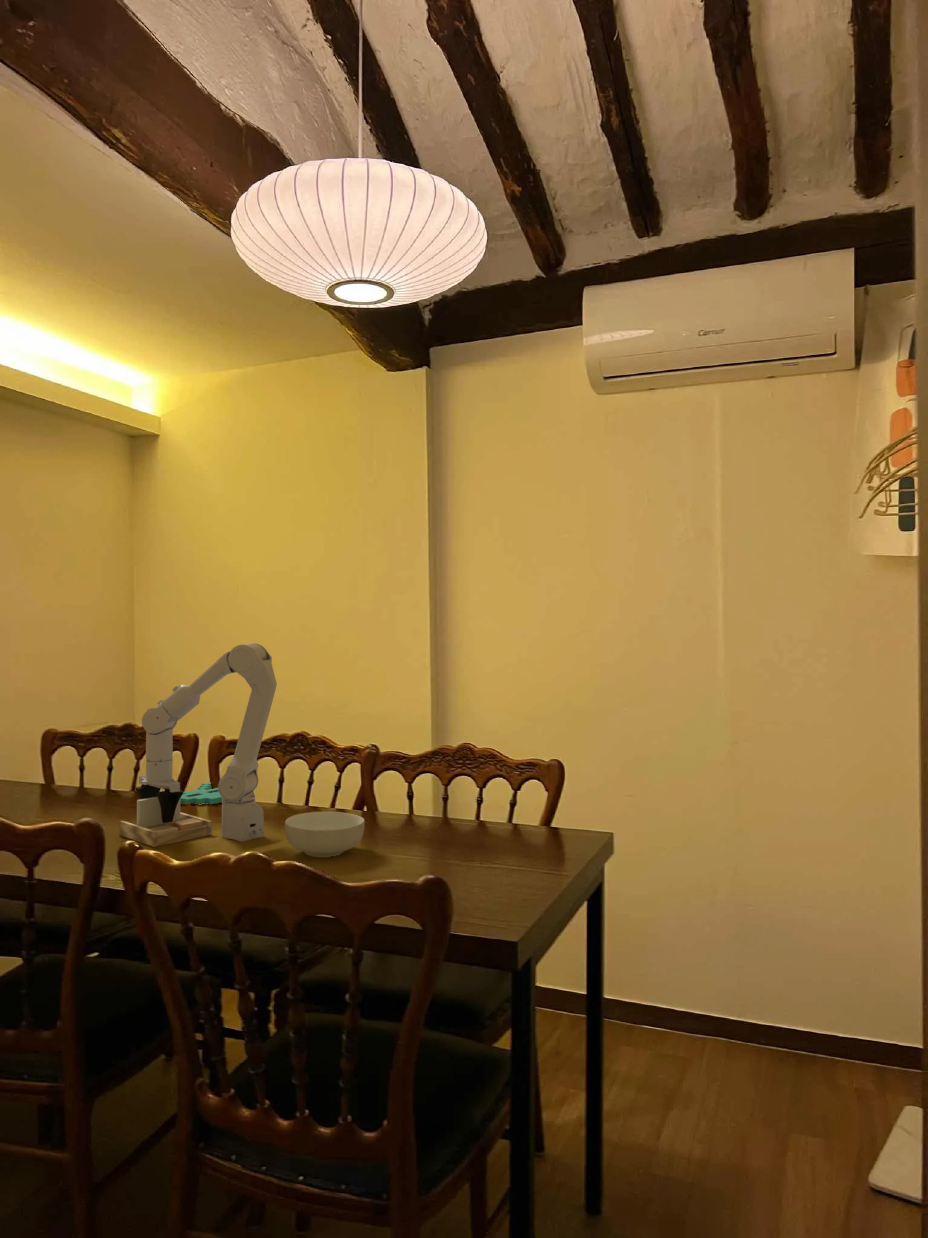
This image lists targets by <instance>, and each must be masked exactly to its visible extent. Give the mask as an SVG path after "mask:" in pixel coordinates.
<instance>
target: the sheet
mask: <svg viewBox="0 0 928 1238" xmlns="http://www.w3.org/2000/svg"><path fill="white" fill-rule="evenodd" d="M180 812H181V805H180V800H179V802H178V804H177V807H176V810H175V814H174V817H173V821H172V822H175V821H180ZM168 823H170V822H168ZM159 824H165V823H163V822H162V817H161V807H160V803H159V800H158V797H153V798H147V799H137V800H136V825H138V826H141V827H149V826H154V825H159Z"/></svg>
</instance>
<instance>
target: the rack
mask: <svg viewBox="0 0 928 1238" xmlns="http://www.w3.org/2000/svg"><path fill="white" fill-rule="evenodd" d="M192 818H193V819H197V820H200V821H202V826H200V827H195V828H190V829H185V830H180V831H175V832H170V833H165V834H160V835H157V832H156V831H153V830H150V829H151V828H157V827H162V826H167V825H170V826H172V822H170V823H165V824H159V825H154V826H149V827H141V826H138V825H137V824H134V823H132V822H129V821H125V820H120V821H119V826H118V828H119V830H118V832H119V833H118V835H120V836H122V837H125V838H128V839H131V840H132V841H136V842H139V843H142V844H145V845H147V846H149V847H153V848H154V847H159V846H164V845H168V844H174V843H177V842H178V843H179V842H183V841H188V840H192V839H197V838H202V837H206V836H210V835H212V832H213V831H212V830H213V829H212V827H213V826H212V825H213V824H212V823H213V822H212V820H209V819H205V818H203V817H202V818H201V817H199V816H195V815H191V814H188V813H184V812H181V811H180V821H181V820H187V819H192ZM175 822H176V821H175Z"/></svg>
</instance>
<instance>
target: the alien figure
mask: <svg viewBox="0 0 928 1238" xmlns="http://www.w3.org/2000/svg"><path fill="white" fill-rule="evenodd" d="M211 783H212V782H203V783H201V785H199V787H197V789H195V790H188V791H183V795H182V796H181V798H180V804H182V803H183V804H191V803H197V804H202V803H210V804H214V803H219V802H222V796H221V795H220V793H219V790H218V787H215V788H213V789H212V788H211Z"/></svg>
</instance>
